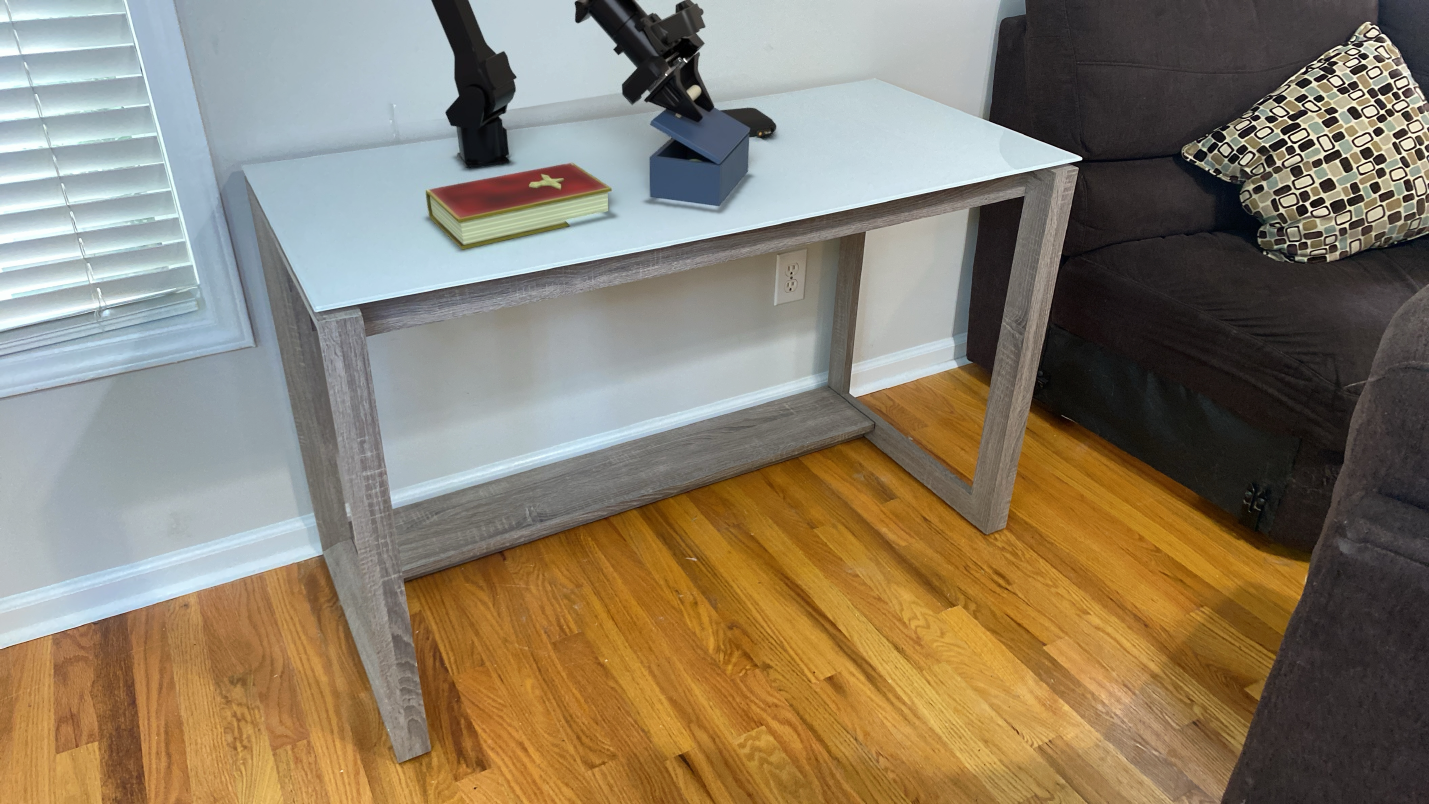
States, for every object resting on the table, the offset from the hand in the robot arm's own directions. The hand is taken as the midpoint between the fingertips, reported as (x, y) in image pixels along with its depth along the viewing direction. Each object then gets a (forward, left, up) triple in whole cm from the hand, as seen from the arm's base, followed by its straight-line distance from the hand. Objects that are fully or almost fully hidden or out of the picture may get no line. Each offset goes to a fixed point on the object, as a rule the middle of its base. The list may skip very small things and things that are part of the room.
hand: (706, 114), depth 132 cm
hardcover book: (-27, +1, -11) cm, 29 cm away
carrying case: (+14, +21, -11) cm, 27 cm away
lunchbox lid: (-1, 0, -2) cm, 2 cm away
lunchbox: (-1, +1, -11) cm, 11 cm away
